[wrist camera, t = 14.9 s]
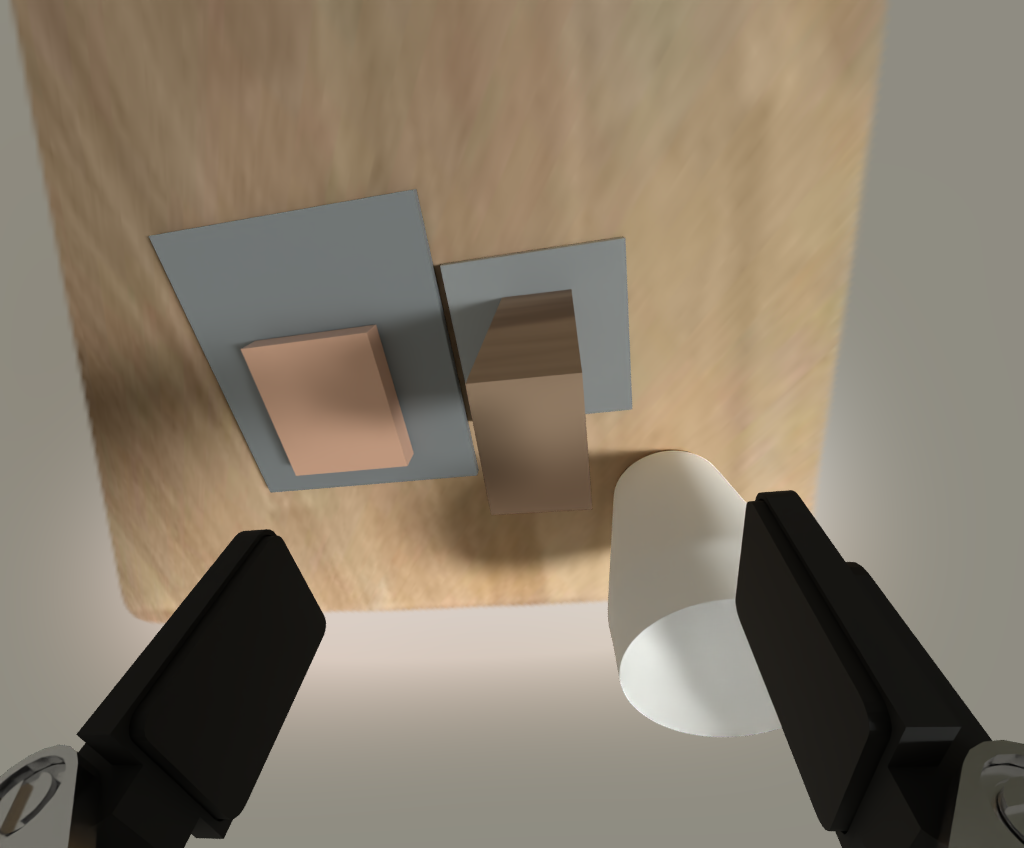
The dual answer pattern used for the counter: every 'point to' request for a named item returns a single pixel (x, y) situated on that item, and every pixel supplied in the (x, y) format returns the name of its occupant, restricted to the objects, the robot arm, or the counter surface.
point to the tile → (331, 400)
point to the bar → (531, 407)
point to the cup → (683, 599)
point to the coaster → (576, 266)
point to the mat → (326, 319)
